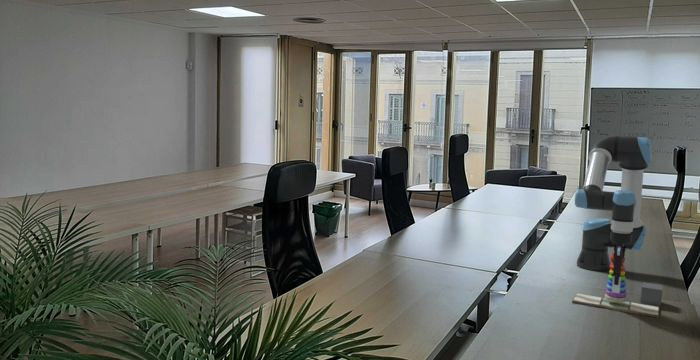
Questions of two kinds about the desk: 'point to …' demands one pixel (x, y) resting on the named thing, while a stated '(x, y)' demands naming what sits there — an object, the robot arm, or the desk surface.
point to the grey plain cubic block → (651, 294)
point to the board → (616, 305)
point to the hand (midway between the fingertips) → (616, 289)
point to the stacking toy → (622, 295)
